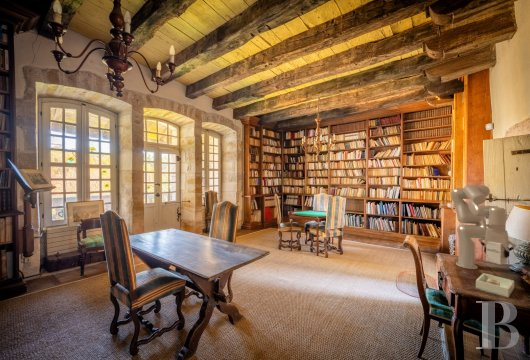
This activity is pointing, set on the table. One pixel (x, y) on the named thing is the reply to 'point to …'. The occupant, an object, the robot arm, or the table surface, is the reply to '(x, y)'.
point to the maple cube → (493, 282)
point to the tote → (502, 290)
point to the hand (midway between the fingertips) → (496, 255)
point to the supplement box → (495, 253)
